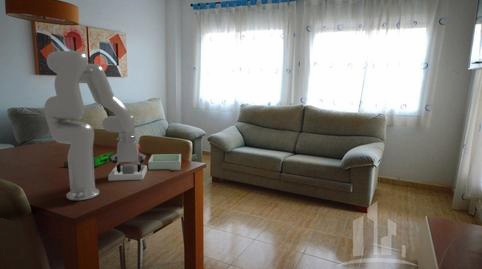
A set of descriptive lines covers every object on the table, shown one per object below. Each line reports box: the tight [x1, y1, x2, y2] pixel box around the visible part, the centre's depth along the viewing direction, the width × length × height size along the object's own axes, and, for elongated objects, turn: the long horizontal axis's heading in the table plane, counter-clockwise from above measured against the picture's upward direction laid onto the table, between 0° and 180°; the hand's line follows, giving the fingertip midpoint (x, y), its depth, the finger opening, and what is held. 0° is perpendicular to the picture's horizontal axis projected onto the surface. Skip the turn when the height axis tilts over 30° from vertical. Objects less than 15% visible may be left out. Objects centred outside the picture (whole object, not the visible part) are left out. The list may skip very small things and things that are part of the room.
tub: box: [107, 164, 148, 181], centre depth 159 cm, size 16×16×4 cm
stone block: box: [122, 163, 136, 174], centre depth 158 cm, size 5×5×5 cm
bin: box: [147, 153, 182, 171], centre depth 179 cm, size 17×17×5 cm
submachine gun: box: [63, 152, 117, 168], centre depth 183 cm, size 5×29×25 cm
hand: (129, 171), depth 159 cm, fingers open, 9 cm apart
